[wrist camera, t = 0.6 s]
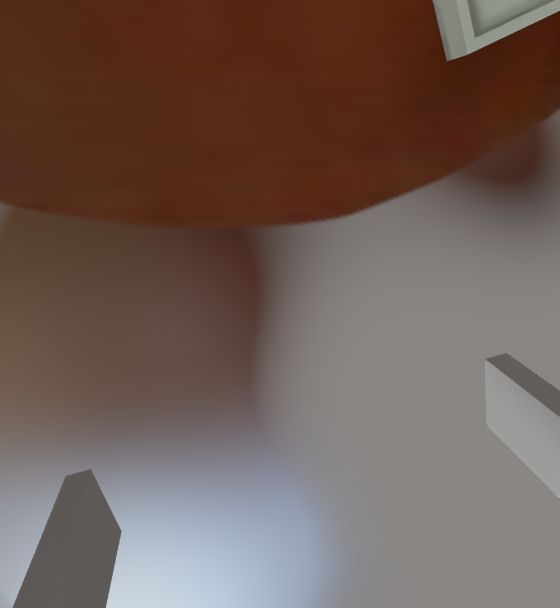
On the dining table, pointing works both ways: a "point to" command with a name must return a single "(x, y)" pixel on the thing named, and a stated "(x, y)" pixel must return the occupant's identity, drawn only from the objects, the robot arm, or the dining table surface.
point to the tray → (485, 21)
